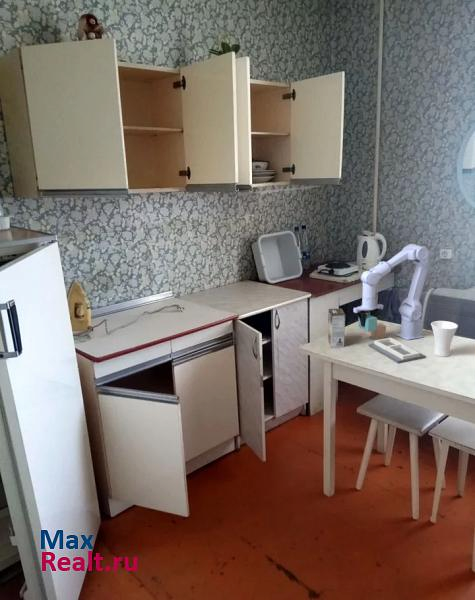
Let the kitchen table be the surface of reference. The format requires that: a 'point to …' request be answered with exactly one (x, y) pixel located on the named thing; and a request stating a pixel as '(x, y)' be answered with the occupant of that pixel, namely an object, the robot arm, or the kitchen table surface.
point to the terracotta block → (379, 331)
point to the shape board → (396, 350)
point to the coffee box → (336, 327)
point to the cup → (443, 337)
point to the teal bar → (369, 323)
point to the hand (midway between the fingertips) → (367, 325)
